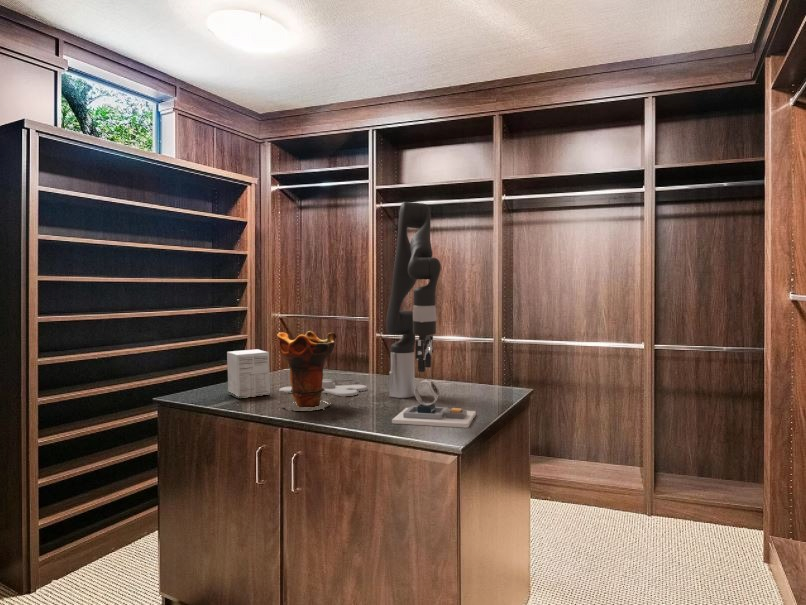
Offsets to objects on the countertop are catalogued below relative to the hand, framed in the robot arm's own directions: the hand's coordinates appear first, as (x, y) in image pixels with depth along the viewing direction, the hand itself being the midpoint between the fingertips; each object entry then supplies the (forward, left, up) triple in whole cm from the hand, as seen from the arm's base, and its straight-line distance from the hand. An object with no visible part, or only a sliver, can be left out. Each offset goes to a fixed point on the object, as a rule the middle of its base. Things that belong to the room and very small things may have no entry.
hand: (424, 369), depth 182 cm
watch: (0, +1, -15) cm, 15 cm away
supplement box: (-78, +22, -16) cm, 82 cm away
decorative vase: (-46, +8, -16) cm, 49 cm away
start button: (+10, 0, -14) cm, 18 cm away
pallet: (+3, 0, -16) cm, 16 cm away
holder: (-52, +36, -17) cm, 65 cm away
